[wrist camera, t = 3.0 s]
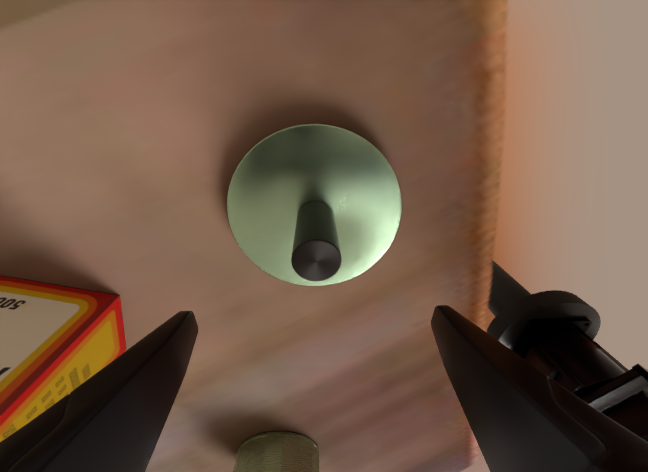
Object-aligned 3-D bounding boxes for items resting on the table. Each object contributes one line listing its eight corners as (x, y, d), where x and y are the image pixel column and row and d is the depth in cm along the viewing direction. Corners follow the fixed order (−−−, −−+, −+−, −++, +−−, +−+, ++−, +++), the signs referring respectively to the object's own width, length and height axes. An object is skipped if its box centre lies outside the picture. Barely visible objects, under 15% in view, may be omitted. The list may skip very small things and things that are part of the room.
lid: (410, 123, 15) (464, 135, 9) (386, 276, 20) (412, 340, 15) (216, 121, 14) (159, 134, 9) (244, 278, 20) (218, 345, 14)
